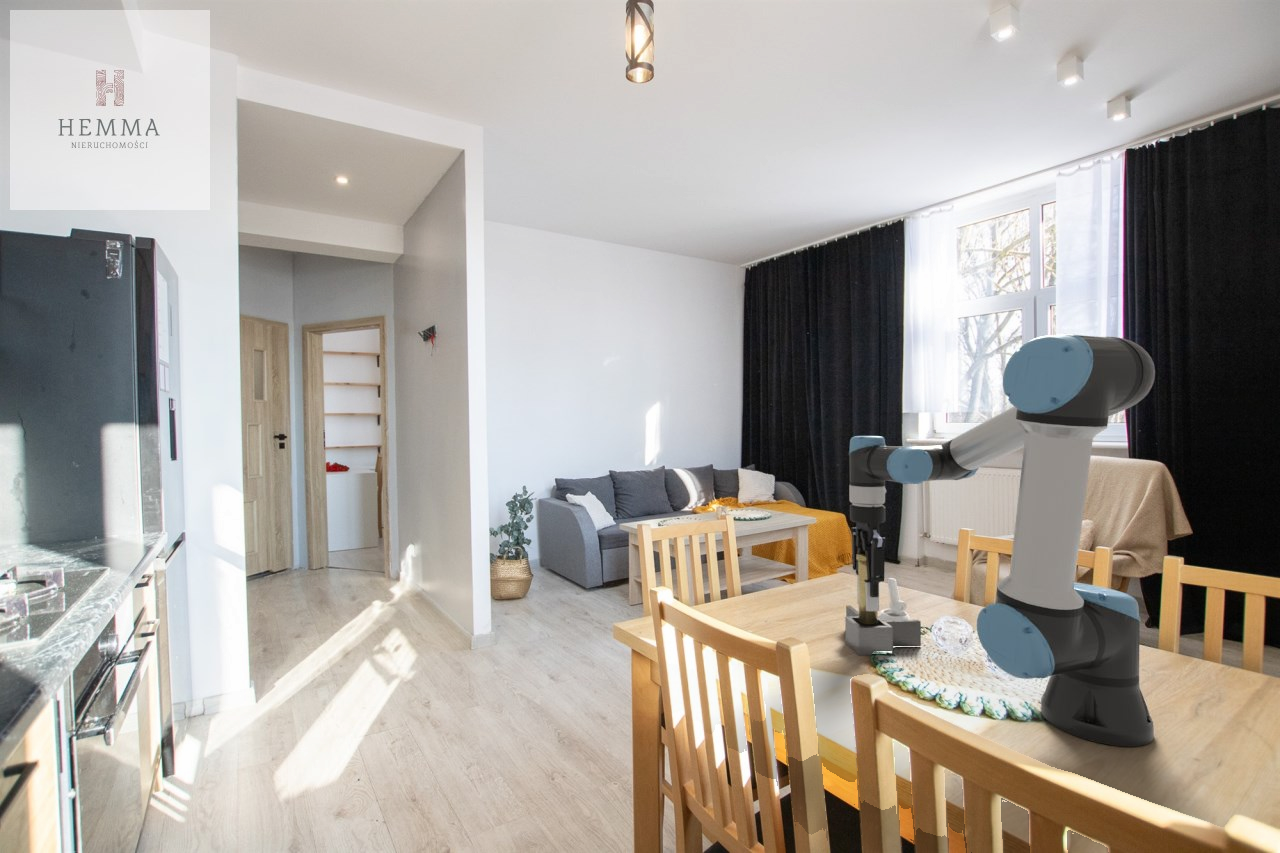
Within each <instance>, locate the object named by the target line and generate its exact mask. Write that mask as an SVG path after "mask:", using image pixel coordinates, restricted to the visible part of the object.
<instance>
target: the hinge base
mask: <svg viewBox="0 0 1280 853" xmlns="http://www.w3.org/2000/svg"><path fill="white" fill-rule="evenodd" d="M845 610H846V611H845V617H844V618H845V620H844V621H845V622H844V624H845V625H844V626H845V643H846V644H847V646H849V648H851V649H852V650H853V651H854V652H855V653H856V654H857V655H858V656H873V655H872V653H873V652H874V651H894V648H893V646H921V647H922V644H921V643H922V641H921V640H922V638H921V635H922V631H921V629H922V628H921V627H922V626H921V623H922V622H921V620H920V619H911V620H887V621H884V620H882V619H881V618H880V617H879V616H878V623H877V624H864V623H861V622H860V621H859V610H857V609H855V608H854V607H853V606H851V605H846V607H845Z"/></svg>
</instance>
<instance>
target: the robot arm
mask: <svg viewBox="0 0 1280 853" xmlns="http://www.w3.org/2000/svg"><path fill="white" fill-rule="evenodd" d="M1155 369H1156V368H1155V364H1154V361H1153V359H1152V357H1151V356H1150V354H1149V352H1147V351H1146V350H1145V349H1144V348H1143V347H1142V346H1140V345H1139V344H1137V343H1136V342H1134V341H1132V340H1129V339H1126V338H1122V337H1117V336H1095V335H1094V336H1093V335H1079V334H1067V333H1063V334H1053V335H1051V334H1050V335H1043V336H1038V337H1035V338H1033V339H1031V340H1028V341H1027V342H1025V343H1024V344H1023V345H1021V347H1020V348H1017V350H1015V351H1014V353H1013V354H1012V355H1011V356H1010V358H1009V360H1008V361H1007V363H1006V366H1005V368H1004V372H1003V375H1002V389H1003V393H1004V395H1005V396H1007V397H1008V399H1007V400H1008V402H1009V403H1010V404H1011V405H1012V407H1010V408H1008V409H1007V410H1005V411H1002V412H1001V413H999V414H997V415H996V416H993V417H991V418H989V419H988V420H985V421H984V422H981V423H980V424H978V425H976V426H974V427H973V428H970V429H969V430H966V431H965V432H963V433H961V434H959V435H957V436H955V437H954V438H952V439H950V440H948V441H946V442H944V443H942V444H936V445H935V444H934V445H907V446H905V445H904V446H903V445H902V446H900V445H899V446H896V445H894V446H893V445H892V446H890V445H887V444H886V439H885V437H884V436H880V435H855V436H852V437H851V438H850V440H849V451H848V456H849V458H848V460H849V462H848V463H849V486H848V487H849V500H848V501H849V502H850V503H851V504H850V505H849V519H850V521H851V522H852V523H856V524H855V525H856V526H855V527H850V531H851V532H850V533H851V547H852V549H851V550H852V552H851V554H852V569H853V571H855V574H856V575H857V577H856V580H857V581H856V583H857V584H856V590H857V591H856V592H857V596H856V598H857V602H856V603H857V604H858V606H859V584H858V560H857V559H856V554H858V553H859V554H865V555H866V566H867V578H868V580H864V581H865V583H866V611H878V612H880V583H881V582H885V564H886V563H885V559H886V558H885V557H886V556H885V555H886V554H885V553H886V552H885V548H886V543H887V537H881V534H880V533H881V532H880V526H879V525H880V524H883V523H884V522H886V506H885V505H884V504H885V503H886V494H887V489H886V481H888V482H894V483H900V484H902V485H920V484H922V483H924V482H930V481H958V480H963V479H968V478H971V477H973V476H974V475H976V472H977V471H978V470H979V468H981V467H983V466H985V465H988V464H990V463H992V462H994V461H996V460H999V459H1000V458H1001V459H1002V458H1003V457H1006V456H1008V455H1010V454H1013V453H1015V452H1016V451H1019V450H1021V449H1023V453H1022V461H1021V462H1022V463H1021V469H1020V470H1021V471H1020V480H1019V488H1018V497H1017V498H1018V499H1017V505H1016V515H1015V522H1014V532H1013V534H1014V535H1013V542H1012V550H1011V557H1010V558H1011V559H1010V568H1009V574H1008V576H1006V577H1004V578H1002V579H1000V580H999V581H998V582H997V585H996V594H995V600H994V601H995V602H990V603H989V604H987V605H986V606H984V608H982V609H981V610H980V612H978V615H977V618H976V632H977V636H978V640H979V643H980V644H981V647H982V648H983V649H984V651H985V652H986V654H987V656H988V657H989V659H990V660H991V661H992V662H993V664H995V665H996V666H997V667H998V668H999V669H1000V670H1002V671H1003V672H1005V673H1006V674H1008V675H1010V676H1012V677H1015V678H1017V679H1024V680H1026V679H1027V680H1030V679H1046V678H1049V679H1048V681H1047V684H1046V686H1045V687H1046V688H1045V690H1044V692H1043V694H1041V698H1040V703H1041V705H1040V711H1041V715H1042V716H1043V718H1044V719H1045V720H1046V721H1047V722H1049V723H1050V724H1052V725H1053V726H1055V727H1056V728H1058V729H1060V730H1062V731H1064V732H1066V733H1068V734H1070V735H1073V736H1076V737H1079V738H1081V739H1085V740H1088V741H1092V742H1094V743H1095V742H1096V743H1099V744H1105V745H1108V746H1109V745H1110V746H1115V747H1141V746H1146V745H1149V744H1150V743H1152V742H1153V741H1154V738H1155V737H1154V726H1155V725H1154V721H1153V719H1152V716H1150V711H1149V709H1148V706H1147V702H1146V701H1145V698H1144V695H1143V693H1142V690H1141V688H1140V630H1141V629H1140V625H1141V624H1140V623H1141V622H1142V621H1141V620H1142V619H1141V617H1140V613H1139V612H1140V611H1139V603H1138V601H1137V600H1136V599H1135V598H1134V597H1133V596H1131V595H1129V593H1126V592H1123V591H1119V590H1116V589H1112V588H1108V587H1103V586H1100V585H1093V584H1088V583H1082V582H1075V581H1076V573H1077V572H1076V571H1077V565H1078V556H1079V548H1080V542H1081V535H1082V527H1083V520H1084V512H1085V502H1086V496H1087V487H1088V481H1089V480H1088V479H1089V474H1090V464H1091V457H1092V456H1091V455H1092V451H1093V449H1092V448H1093V442H1094V438H1095V437H1096V436H1097V435H1099V433H1100V434H1101V433H1102V432H1103V431H1104V430H1106V429H1107V428H1108V424H1109V417H1110V416H1113V415H1115V414H1118V413H1120V412H1123V411H1126V410H1127V409H1130V408H1131V407H1134V406H1135V405H1136V404H1138V403H1139V402H1141V401H1142V400H1143V399H1145V397H1146V396H1147V395H1148V394H1149V393H1150V391H1151V389H1152V387H1153V385H1154V382H1155V377H1156V370H1155Z"/></svg>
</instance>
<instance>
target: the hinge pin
mask: <svg viewBox="0 0 1280 853" xmlns="http://www.w3.org/2000/svg"><path fill="white" fill-rule="evenodd" d="M856 559H857V560H858V575H857V576H858V584H859V605H858V612H859V621H860V622H861V623H864V624H877V623H878V617H879V615H878V612H879V611H866V583H865V581H864V580H868V578H867V566H866V555H865V554H859V553H858V554H856Z"/></svg>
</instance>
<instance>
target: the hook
mask: <svg viewBox="0 0 1280 853" xmlns="http://www.w3.org/2000/svg"><path fill="white" fill-rule="evenodd" d="M887 587H888V593H889V598H890V599H889V600H890V601H889V602H890V603H889V608H884V609H882V610H881V611H880V613H879V615H878V617H880V618H881V619H882V620H884V621H887V620H912V619H911V617H910V615H909V613H908V612H906V611H905V610H906V609H907V607H908V606H907V603H906V602H905V601H904V600H900V594H899V588H898V582H897V580H896V578H893V577H888V578H887Z"/></svg>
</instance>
